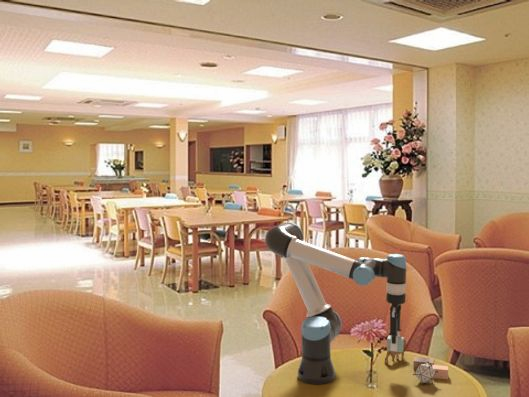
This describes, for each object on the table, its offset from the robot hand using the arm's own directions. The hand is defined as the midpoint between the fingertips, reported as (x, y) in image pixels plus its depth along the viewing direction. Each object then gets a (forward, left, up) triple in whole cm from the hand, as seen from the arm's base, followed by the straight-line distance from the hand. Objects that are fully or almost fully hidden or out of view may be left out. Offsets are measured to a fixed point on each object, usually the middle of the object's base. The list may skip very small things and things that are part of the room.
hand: (394, 348), depth 216 cm
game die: (+12, -4, -11) cm, 17 cm away
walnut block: (+11, +10, -11) cm, 18 cm away
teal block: (0, 0, -1) cm, 1 cm away
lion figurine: (-2, +15, -11) cm, 19 cm away
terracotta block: (+18, +4, -11) cm, 21 cm away
